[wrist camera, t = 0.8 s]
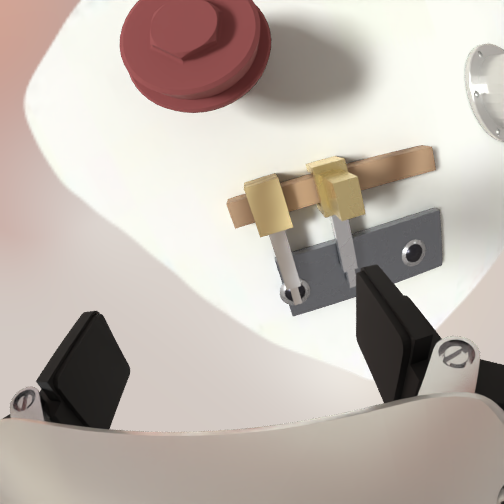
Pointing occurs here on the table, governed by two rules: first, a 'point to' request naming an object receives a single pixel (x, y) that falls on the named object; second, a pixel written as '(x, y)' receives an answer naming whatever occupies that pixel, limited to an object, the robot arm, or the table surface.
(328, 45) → the table surface
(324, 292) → the hole plate
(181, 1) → the mechanical component
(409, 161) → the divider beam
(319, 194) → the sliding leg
